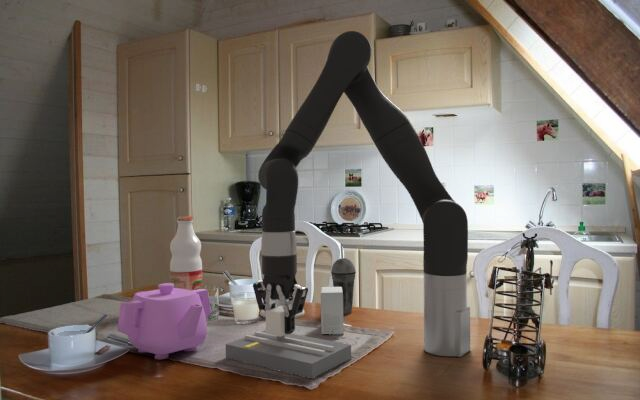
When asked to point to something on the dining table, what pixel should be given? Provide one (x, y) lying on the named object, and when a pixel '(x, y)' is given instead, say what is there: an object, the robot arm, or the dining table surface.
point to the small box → (332, 310)
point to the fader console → (289, 353)
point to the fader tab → (276, 323)
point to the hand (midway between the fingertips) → (280, 331)
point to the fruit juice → (185, 256)
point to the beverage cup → (344, 280)
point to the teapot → (165, 320)
